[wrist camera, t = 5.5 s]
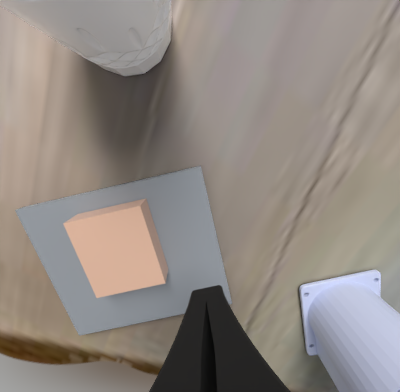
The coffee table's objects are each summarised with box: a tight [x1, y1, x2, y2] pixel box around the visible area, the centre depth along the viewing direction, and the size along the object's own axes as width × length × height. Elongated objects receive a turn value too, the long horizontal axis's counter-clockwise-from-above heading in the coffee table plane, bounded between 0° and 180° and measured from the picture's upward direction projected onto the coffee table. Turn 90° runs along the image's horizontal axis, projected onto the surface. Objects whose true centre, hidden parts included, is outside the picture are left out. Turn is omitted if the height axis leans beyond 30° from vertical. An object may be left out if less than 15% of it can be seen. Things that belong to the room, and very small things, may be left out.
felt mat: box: [15, 166, 232, 335], centre depth 19 cm, size 14×16×1 cm
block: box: [63, 198, 168, 298], centre depth 17 cm, size 7×2×6 cm
